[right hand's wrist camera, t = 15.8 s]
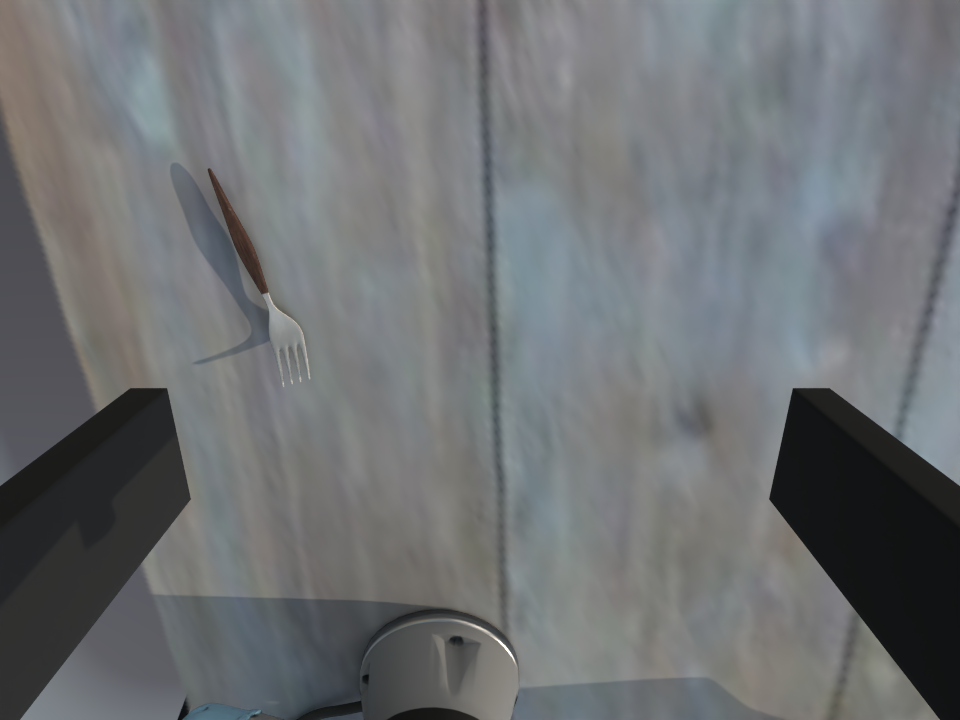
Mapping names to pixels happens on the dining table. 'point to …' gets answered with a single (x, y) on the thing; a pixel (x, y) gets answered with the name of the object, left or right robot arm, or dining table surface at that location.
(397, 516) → the dining table surface
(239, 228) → the fork
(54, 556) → the right robot arm
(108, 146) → the dining table surface
